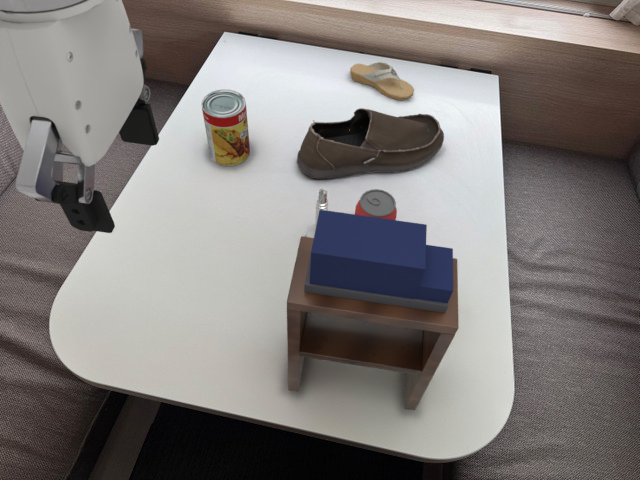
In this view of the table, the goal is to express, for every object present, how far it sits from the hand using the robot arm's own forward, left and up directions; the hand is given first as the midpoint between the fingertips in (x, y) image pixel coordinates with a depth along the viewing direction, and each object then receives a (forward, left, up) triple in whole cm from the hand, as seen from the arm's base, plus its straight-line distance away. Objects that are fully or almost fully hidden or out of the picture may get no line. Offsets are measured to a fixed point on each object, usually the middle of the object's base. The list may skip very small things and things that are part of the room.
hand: (119, 181), depth 42 cm
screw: (+31, -3, -40) cm, 51 cm away
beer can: (+34, -11, -40) cm, 54 cm away
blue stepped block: (+13, -19, -16) cm, 28 cm away
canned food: (+41, +23, -40) cm, 62 cm away
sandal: (+77, +7, -40) cm, 87 cm away
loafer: (+54, -2, -40) cm, 68 cm away
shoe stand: (+13, -19, -40) cm, 46 cm away
